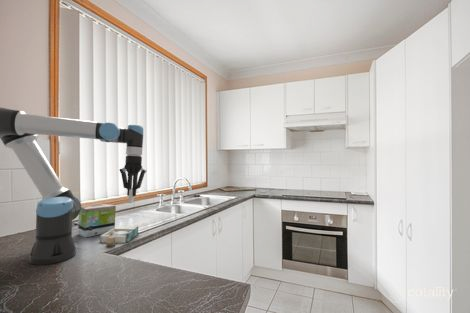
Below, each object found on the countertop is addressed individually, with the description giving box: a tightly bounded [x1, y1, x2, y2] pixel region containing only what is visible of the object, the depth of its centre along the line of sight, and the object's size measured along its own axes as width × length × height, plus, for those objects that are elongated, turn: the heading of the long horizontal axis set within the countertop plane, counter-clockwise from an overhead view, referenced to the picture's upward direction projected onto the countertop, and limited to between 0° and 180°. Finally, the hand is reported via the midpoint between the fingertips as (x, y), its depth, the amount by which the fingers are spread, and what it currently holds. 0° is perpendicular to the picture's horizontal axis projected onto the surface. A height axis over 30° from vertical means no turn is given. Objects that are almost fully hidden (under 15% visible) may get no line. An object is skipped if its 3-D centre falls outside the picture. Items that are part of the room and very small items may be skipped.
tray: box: [107, 226, 139, 243], centre depth 122 cm, size 13×12×4 cm
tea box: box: [77, 203, 117, 238], centre depth 130 cm, size 15×10×15 cm, turn 143°
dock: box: [99, 227, 134, 244], centre depth 122 cm, size 14×12×3 cm
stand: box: [105, 237, 116, 248], centre depth 111 cm, size 4×4×4 cm
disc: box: [113, 231, 128, 236], centre depth 122 cm, size 7×7×2 cm
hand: (131, 202), depth 120 cm, fingers closed
